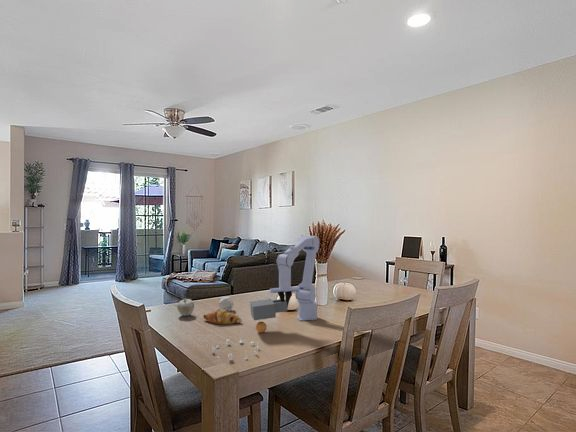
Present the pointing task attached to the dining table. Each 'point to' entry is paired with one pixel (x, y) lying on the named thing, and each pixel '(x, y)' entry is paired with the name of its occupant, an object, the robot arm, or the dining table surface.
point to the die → (226, 303)
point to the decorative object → (185, 307)
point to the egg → (261, 327)
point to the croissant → (222, 317)
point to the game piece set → (231, 354)
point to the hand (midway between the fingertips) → (284, 307)
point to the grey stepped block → (267, 308)
